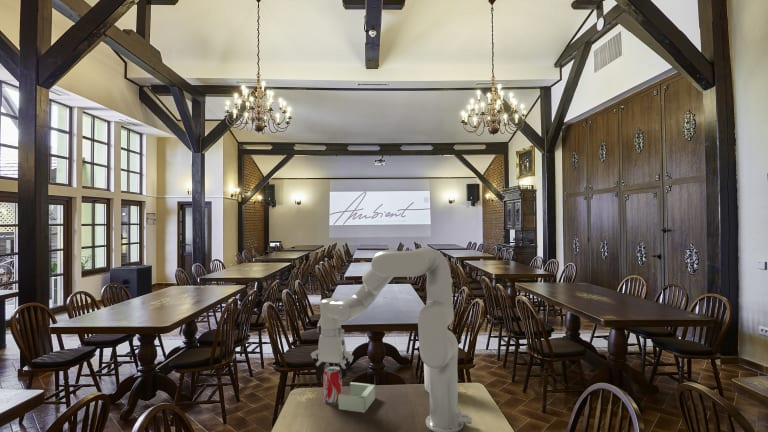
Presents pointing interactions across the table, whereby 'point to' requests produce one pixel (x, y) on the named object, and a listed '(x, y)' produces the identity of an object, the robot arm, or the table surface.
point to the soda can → (332, 384)
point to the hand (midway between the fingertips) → (332, 376)
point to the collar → (357, 397)
